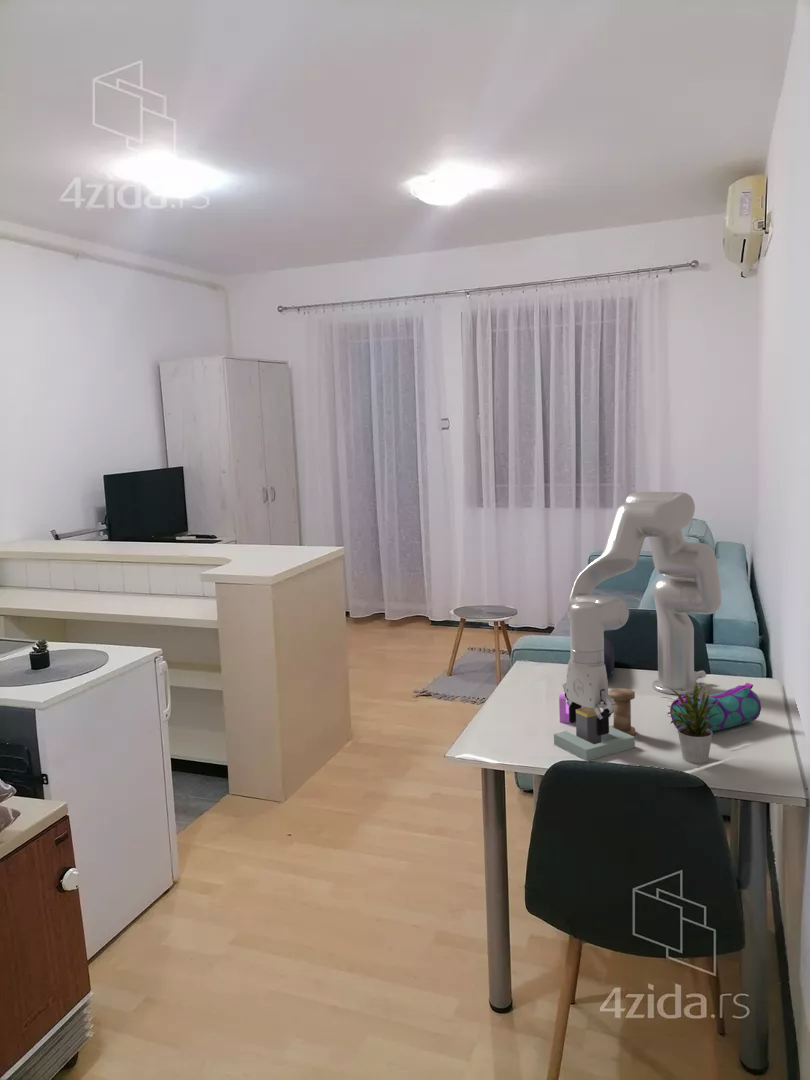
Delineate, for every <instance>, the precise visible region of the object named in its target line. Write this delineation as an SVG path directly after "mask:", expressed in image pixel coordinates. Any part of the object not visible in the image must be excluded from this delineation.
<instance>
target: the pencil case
mask: <svg viewBox="0 0 810 1080" xmlns="http://www.w3.org/2000/svg"><path fill="white" fill-rule="evenodd" d="M753 687H754V684H753V683H749V682H746V683H745V684H743V685H737V686H735V687H733V688H729V689H727V690H725V691H721V692H718V693H714V694H710V695H709V701H708V704H707V707H706V709H707V708H708V707H710V706H712V705H715V704H716V703H717V702H718V701H719V702H718V703H717V704H716V705H715V706H714V707H713V708H712V709H711V710H710V711H709V713H708V714H707V716H706V718H705V719H704V721H703V723H704V722H705V720H706V719H708V718H709V717H710V716H712V715H713V714H716V713H722V714H717V715H715V716H713V717H711V718H710V719H708V720H709V722H708V724H707V725H706V726H708V725H710V727H708V729H710V730H711V731H712V732H713V733H714V732H717V731H718V732H719V731H723V730H726V729H729V728H734V727H736V726H737V727H738V726H740V725H743V724H746V723H749V722H753V721H755V720H757V719H758V718H759V717H760V715H761V710H762V706H761V705H762V704H761V700H760V698H759V696H758V695H757V693H756V692H755V691H753V690H752V689H753ZM688 695H689V697H690V698H691V700H692V702H693V695H692V694H688ZM681 697H682V698H683V700H684V702H685V703H687V700H686V695H681ZM702 697H703V696H702ZM702 697H699V698H698V708H700V705H701V702H702ZM706 697H707V695H706ZM706 697H705V699H706ZM721 699H722V700H721ZM674 700H675V701H674ZM674 700H673V702H671V705H670V707H672V708H674V709H675V710H676V711H677V712H680V713H682V711H683V712H684V713H685V714H687V712H686V711H685V710H686V709H685V707H684V705H683V704H682V702H681V701H680V699H679V698H678V697H677V698H675V699H674ZM676 701H677V702H676ZM674 702H675V703H676V704H677V705H678V706H679V707H680V708H681V709H682V711H681V710H680V709H679V707H678V706H677V705H676V704H675V703H674ZM704 703H705V701H704ZM680 704H681V705H682V706H683V707H684V708H683V707H682V706H681V705H680ZM687 704H688V703H687ZM703 706H704V705H703ZM670 707H669V712H672V711H673V712H674V710H673V709H672V708H670ZM684 709H685V710H684ZM723 714H724V715H723ZM670 716H672V717H671V721H672V720H674V719H676V718H677V719H676V720H681V719H680V718H679V717H678V716H677V715H674V714H670ZM674 717H675V718H674ZM681 718H682V719H683V720H684V721H686V720H687V719H686V720H685V719H684V718H683V717H681ZM688 720H689V719H688ZM689 722H690V723H691V721H690V720H689ZM676 723H677V722H674V723H673V726H674V727H676ZM686 723H687V722H686ZM703 723H702V725H703ZM683 724H684V723H683ZM683 724H681V725H679V726H677V727H676V728H675V729H677V730H678V729H679V728H680V727H683V726H684V725H685V724H684V725H683ZM702 725H701V726H702ZM713 725H715V726H716V728H715V727H713ZM685 726H686V725H685Z"/></svg>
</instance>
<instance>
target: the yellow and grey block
mask: <svg viewBox="0 0 810 1080" xmlns="http://www.w3.org/2000/svg"><path fill="white" fill-rule="evenodd" d="M596 718H598V716H597V714H596V712H595V709H588V708H586V707H584V708H580V709H576V723H575V725H576V726H575V728H576V731H575V732H576V734H575V736H578V737H580V738H582V739H584V740H586V741H588V742H590V743H592V744H598V743H602V741H601V735H600V736H598V735H597V734H596Z"/></svg>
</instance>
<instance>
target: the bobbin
mask: <svg viewBox="0 0 810 1080" xmlns="http://www.w3.org/2000/svg"><path fill="white" fill-rule="evenodd" d="M608 695H609V696H610V697H611V698H612V699H613V700H614V701H615V703H616V705H615V708H614V710H613V713H612V714H613V725H609V726H610V727H613V728H615V729H617V730H620V731H622V732H624V733H627V734H629V735H631V736H634V737H635V735H636V728H635V727H634V726H632V712H631V710H632V707H631V705H632V704H631V703H632V700H634V699H635V698H636V692H635V691H634V690H632V689H628V688H612V689H610V690H608Z"/></svg>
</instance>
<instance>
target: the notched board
mask: <svg viewBox="0 0 810 1080" xmlns="http://www.w3.org/2000/svg"><path fill="white" fill-rule="evenodd" d="M610 726H611V725H609V733H608V734H604V735H601V743H598V744H592V743H590V742H588V741H586V740H584V739H582V738H580V737H578V736H576V734H573V733H571V732H569V731H567V730H565V731H561V732H557V733H553V745H555V746H557V747H558V748H560V749H562V750H565V751H567V752H568V753H571V754H572V755H574V756H576V757H578V758H580V759H582V760H584V761H586V760H588V761H591V760H594V759H598V758H603V757H605V756H609V755H614V754H615V753H616V754H617V753H620V752H624V751H627V750H631V749H634V748H636V740H635V739H636V737H635V735H634V736H631V735H629V734H627V733H624V732H622V731H620V730H617V729H615V728H613V727H610Z"/></svg>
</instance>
